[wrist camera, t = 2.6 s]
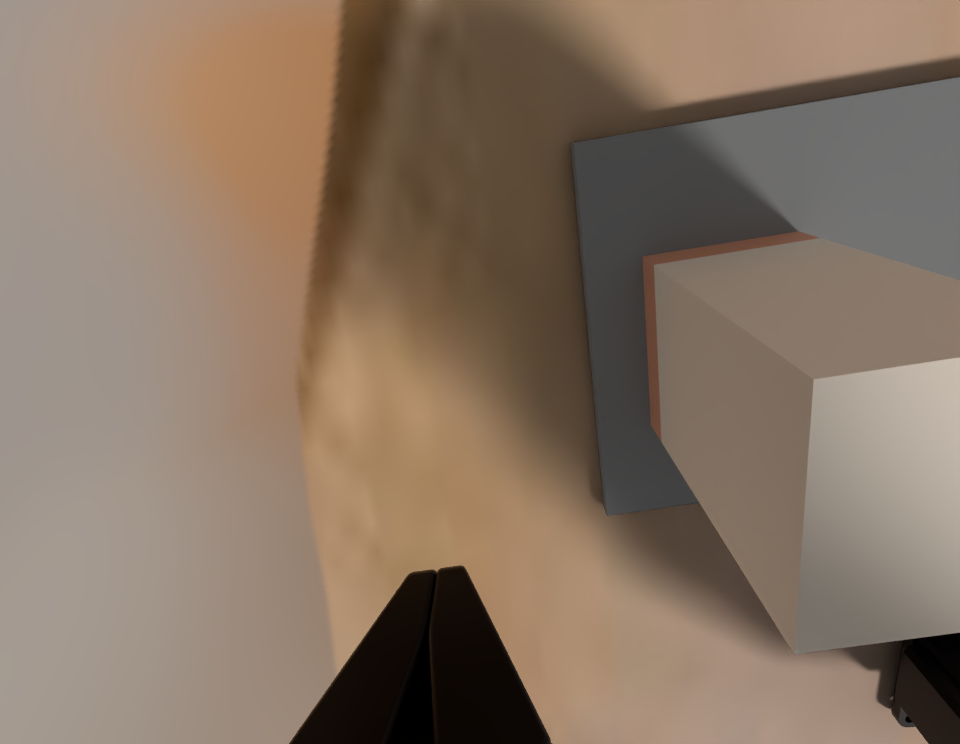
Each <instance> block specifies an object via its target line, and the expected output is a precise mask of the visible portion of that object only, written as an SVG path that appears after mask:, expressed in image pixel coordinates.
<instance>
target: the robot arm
mask: <svg viewBox="0 0 960 744" xmlns="http://www.w3.org/2000/svg"><path fill="white" fill-rule="evenodd" d="M891 711H892V714H893V716H894V717H895V719H896V720H897V721H898V723H899V724H900V725H901V726H904V727H915V726H916V728H917V729H918V730H919V732H920V733H921V734H922V735H923V737H924V738H925V739H926V741H927V742H928V743H929V744H960V633H953V634H945V635H938V636H930V637H922V638H915V639H907V640H903V645H902V651H901V657H900V663H899V668H898V674H897V680H896V686H895V692H894V698H893V704H892V709H891ZM289 744H552V743H551V740H550V737H549V735H548V733H547V731H546V729H545V727H544V725H543V723H542V721H541V719H540V717H539V715H538V713H537V711H536V709H535V707H534V705H533V703H532V701H531V699H530V697H529V695H528V693H527V691H526V689H525V687H524V685H523V683H522V681H521V679H520V677H519V675H518V673H517V671H516V669H515V667H514V665H513V663H512V661H511V659H510V657H509V655H508V653H507V651H506V649H505V647H504V645H503V643H502V641H501V639H500V637H499V635H498V633H497V631H496V629H495V627H494V625H493V623H492V621H491V619H490V617H489V615H488V613H487V611H486V609H485V607H484V605H483V603H482V601H481V599H480V597H479V594H478V592H477V590H476V588H475V586H474V584H473V582H472V580H471V578H470V576H469V574H468V572H467V570H466V569H465V567H464V566H453V567H446V568H441V569H439V570H438V572H436V571H435V570H425V571H417V572H412V573H410V574H409V575H408V576H407V577H406V578H405V580H404V581H403V583H402V584H401V586H400V587H399V588H398V590H397V591H396V593H395V594H394V595H393V597H392V598H391V600H390V601H389V603H388V604H387V605H386V607H385V608H384V610H383V611H382V612H381V614H380V615H379V617H378V618H377V620H376V621H375V622H374V624H373V625H372V627H371V628H370V630H369V631H368V632H367V634H366V635H365V637H364V638H363V639H362V641H361V642H360V644H359V645H358V647H357V648H356V649H355V651H354V652H353V654H352V655H351V656H350V658H349V659H348V661H347V662H346V664H345V665H344V666H343V668H342V669H341V671H340V672H339V674H338V675H337V676H336V678H335V679H334V681H333V682H332V683H331V685H330V686H329V688H328V689H327V691H326V692H325V694H324V695H323V696H322V698H321V699H320V701H319V702H318V703H317V705H316V706H315V708H314V709H313V710H312V712H311V713H310V715H309V716H308V718H307V719H306V721H305V722H304V723H303V725H302V726H301V727H300V729H299V730H298V732H297V733H296V735H295V736H294V737H293V739H292V741H291V742H290V743H289Z"/></svg>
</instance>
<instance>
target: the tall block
mask: <svg viewBox="0 0 960 744" xmlns="http://www.w3.org/2000/svg"><path fill="white" fill-rule="evenodd" d="M642 259H643V279H644V299H645V319H646V339H647V358H648V378H649V398H650V418H651V426H652V428H653V429H654V431H655V433H656V434H657V436H658V437H659V439H660V441H661V442H662V444H663V445H664V447H665V449H666V450H667V452H668V453H669V455H670V457H671V458H672V460H673V461H674V463H675V465H676V466H677V468H678V469H679V471H680V473H681V474H682V476H683V477H684V479H685V481H686V482H687V484H688V485H689V487H690V489H691V490H692V492H693V493H694V495H695V497H696V498H697V500H698V501H699V503H700V505H701V506H702V508H703V509H704V511H705V513H706V514H707V516H708V517H709V519H710V521H711V522H712V524H713V525H714V527H715V529H716V530H717V532H718V533H719V535H720V537H721V538H722V540H723V541H724V543H725V545H726V546H727V548H728V549H729V551H730V553H731V554H732V556H733V557H734V559H735V561H736V562H737V564H738V565H739V567H740V569H741V570H742V572H743V573H744V575H745V577H746V578H747V580H748V582H749V583H750V585H751V586H752V588H753V590H754V591H755V593H756V594H757V596H758V598H759V599H760V601H761V602H762V604H763V606H764V607H765V609H766V610H767V612H768V614H769V615H770V617H771V618H772V620H773V622H774V623H775V625H776V626H777V628H778V630H779V631H780V633H781V634H782V636H783V638H784V639H785V641H786V642H787V644H788V646H789V647H790V649H791V650H792V652H793V654H801V653H809V652H816V651H824V650H831V649H839V648H846V647H854V646H862V645H869V644H877V643H884V642H892V641H900V640H907V639H915V638H922V637H930V636H938V635H945V634H953V633H960V280H957V279H954V278H951V277H948V276H944V275H941V274H938V273H934V272H931V271H928V270H924V269H921V268H918V267H915V266H911V265H908V264H905V263H901V262H898V261H895V260H891V259H888V258H885V257H882V256H878V255H875V254H872V253H868V252H865V251H862V250H859V249H855V248H852V247H849V246H845V245H842V244H839V243H835V242H832V241H829V240H826V239H822V238H819V237H816V236H812V235H809V234H806V233H802V232H799V231H797V232H791V233H784V234H778V235H772V236H766V237H760V238H754V239H747V240H741V241H735V242H729V243H723V244H717V245H711V246H704V247H698V248H692V249H686V250H680V251H674V252H667V253H661V254H655V255H649V256H643V257H642Z"/></svg>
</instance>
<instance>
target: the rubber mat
mask: <svg viewBox="0 0 960 744" xmlns="http://www.w3.org/2000/svg"><path fill="white" fill-rule="evenodd" d="M570 145H571V156H572V166H573V177H574V188H575V199H576V210H577V221H578V232H579V243H580V253H581V264H582V275H583V286H584V297H585V308H586V319H587V330H588V340H589V351H590V362H591V373H592V384H593V395H594V406H595V417H596V427H597V438H598V449H599V460H600V471H601V482H602V493H603V504H604V508H605V511H606V514H607V516H610V515H617V514H624V513H631V512H638V511H645V510H652V509H659V508H666V507H673V506H680V505H687V504H694V503H699V501H698V500H697V498H696V497H695V495H694V493H693V492H692V490H691V489H690V487H689V485H688V484H687V482H686V481H685V479H684V477H683V476H682V474H681V473H680V471H679V469H678V468H677V466H676V465H675V463H674V461H673V460H672V458H671V457H670V455H669V453H668V452H667V450H666V449H665V447H664V445H663V444H662V442H661V441H660V439H659V437H658V436H657V434H656V433H655V431H654V429H653V428H652V426H651V418H650V398H649V378H648V358H647V339H646V319H645V299H644V279H643V259H642V257H643V256H649V255H655V254H661V253H667V252H674V251H680V250H686V249H692V248H698V247H704V246H711V245H717V244H723V243H729V242H735V241H741V240H747V239H754V238H760V237H766V236H772V235H778V234H784V233H791V232H797V231H799V232H802V233H806V234H809V235H812V236H816V237H819V238H822V239H826V240H829V241H832V242H835V243H839V244H842V245H845V246H849V247H852V248H855V249H859V250H862V251H865V252H868V253H872V254H875V255H878V256H882V257H885V258H888V259H891V260H895V261H898V262H901V263H905V264H908V265H911V266H915V267H918V268H921V269H924V270H928V271H931V272H934V273H938V274H941V275H944V276H948V277H951V278H954V279H957V280H960V76H959V77H953V78H947V79H941V80H935V81H929V82H924V83H918V84H912V85H906V86H900V87H894V88H889V89H883V90H877V91H871V92H865V93H859V94H854V95H848V96H842V97H836V98H830V99H824V100H819V101H813V102H807V103H801V104H795V105H789V106H784V107H778V108H772V109H766V110H760V111H754V112H749V113H743V114H737V115H731V116H725V117H719V118H714V119H708V120H702V121H696V122H690V123H684V124H679V125H673V126H667V127H661V128H655V129H650V130H644V131H638V132H632V133H626V134H620V135H615V136H609V137H603V138H597V139H591V140H585V141H580V142H574V143H570Z"/></svg>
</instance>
